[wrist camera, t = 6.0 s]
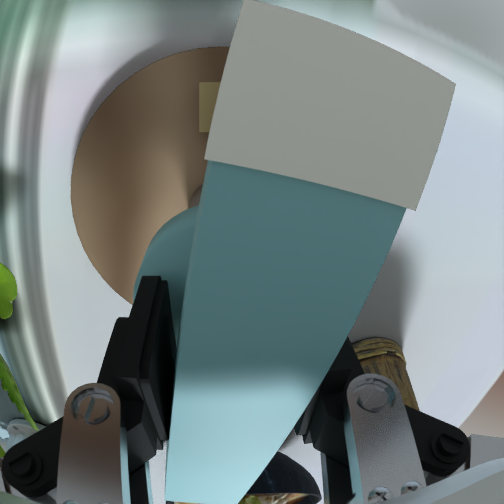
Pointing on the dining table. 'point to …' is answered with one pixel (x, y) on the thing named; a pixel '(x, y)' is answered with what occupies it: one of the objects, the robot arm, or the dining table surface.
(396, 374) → the wooden mug
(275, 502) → the bowl
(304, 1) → the dining table surface
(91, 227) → the base plate
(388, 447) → the robot arm
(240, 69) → the white-capped blue bar
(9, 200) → the dining table surface
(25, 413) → the potted flower
